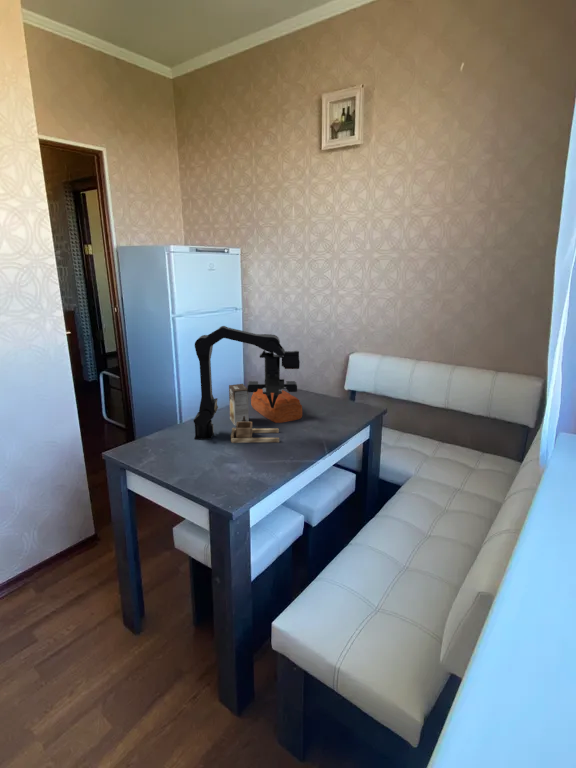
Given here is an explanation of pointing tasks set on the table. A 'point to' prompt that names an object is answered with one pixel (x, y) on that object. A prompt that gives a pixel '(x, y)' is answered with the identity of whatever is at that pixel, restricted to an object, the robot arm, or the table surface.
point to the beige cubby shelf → (249, 440)
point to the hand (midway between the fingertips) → (272, 407)
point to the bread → (277, 406)
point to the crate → (244, 430)
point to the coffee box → (238, 403)
